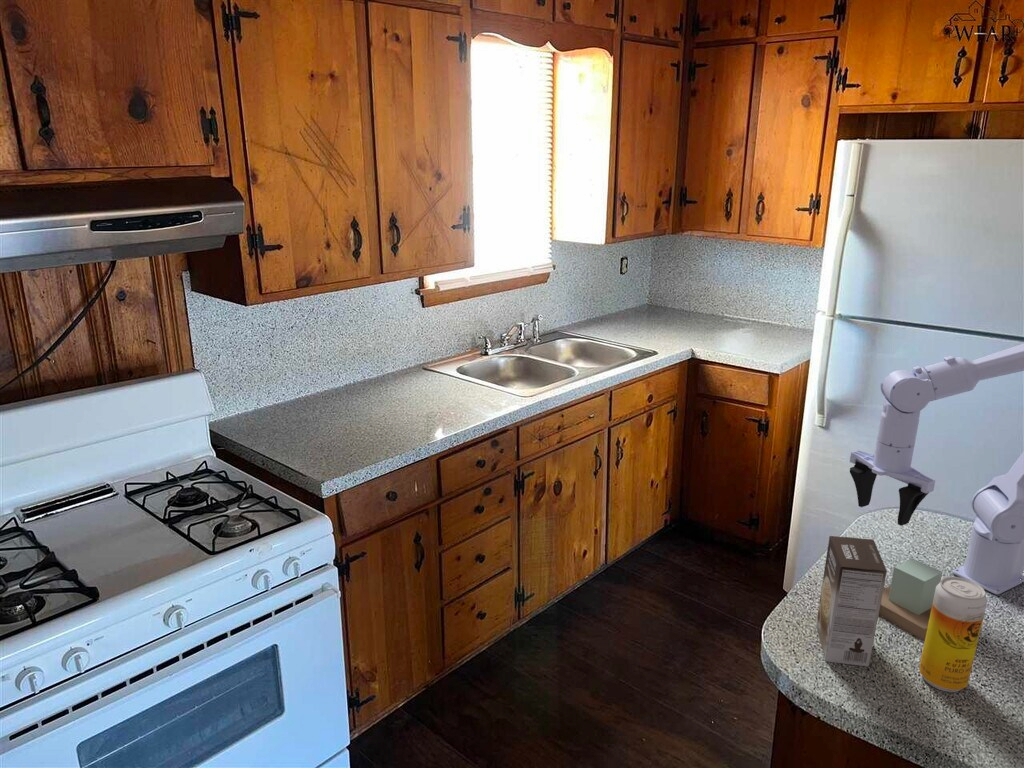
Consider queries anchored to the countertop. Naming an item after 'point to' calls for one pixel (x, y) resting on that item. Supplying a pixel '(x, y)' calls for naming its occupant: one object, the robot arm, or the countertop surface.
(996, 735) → the countertop surface
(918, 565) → the sage block
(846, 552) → the coffee box
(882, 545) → the countertop surface
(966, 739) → the countertop surface
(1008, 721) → the countertop surface
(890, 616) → the walnut board
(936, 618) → the beer can
